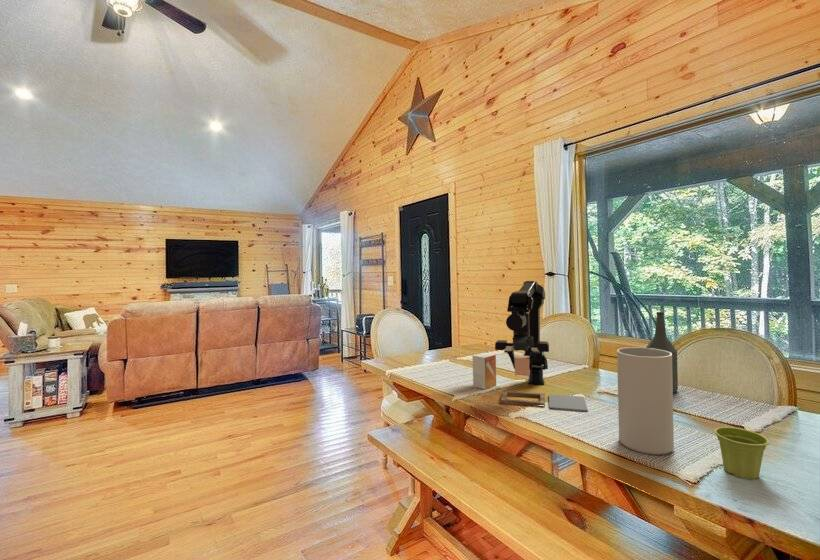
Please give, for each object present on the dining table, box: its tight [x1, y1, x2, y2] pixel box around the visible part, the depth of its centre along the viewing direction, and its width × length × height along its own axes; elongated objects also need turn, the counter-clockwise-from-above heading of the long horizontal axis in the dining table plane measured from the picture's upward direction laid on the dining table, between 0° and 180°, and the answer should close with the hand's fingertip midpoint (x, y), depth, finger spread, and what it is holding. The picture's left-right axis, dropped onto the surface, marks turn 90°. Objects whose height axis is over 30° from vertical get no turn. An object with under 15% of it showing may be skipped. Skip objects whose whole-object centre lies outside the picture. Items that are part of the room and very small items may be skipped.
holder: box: [500, 390, 546, 407], centre depth 142 cm, size 11×15×1 cm
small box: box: [472, 352, 497, 390], centre depth 160 cm, size 8×6×13 cm
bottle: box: [645, 311, 679, 393], centre depth 148 cm, size 10×10×30 cm
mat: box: [548, 394, 589, 413], centre depth 137 cm, size 14×12×1 cm
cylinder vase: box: [616, 347, 675, 455], centre depth 103 cm, size 12×12×25 cm
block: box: [514, 354, 530, 377], centre depth 141 cm, size 5×5×6 cm
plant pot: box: [714, 426, 770, 480], centre depth 88 cm, size 9×9×9 cm
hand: (522, 369), depth 141 cm, fingers closed on block, 5 cm apart
